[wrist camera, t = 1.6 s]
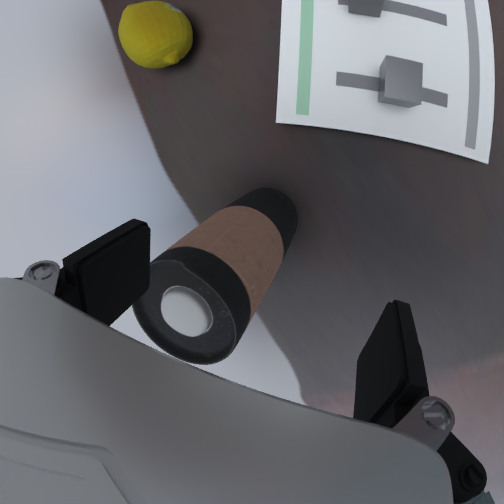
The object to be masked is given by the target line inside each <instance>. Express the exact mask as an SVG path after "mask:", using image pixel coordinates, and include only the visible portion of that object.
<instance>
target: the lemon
mask: <svg viewBox="0 0 504 504" xmlns="http://www.w3.org/2000/svg"><path fill="white" fill-rule="evenodd" d="M119 37H120V41H121V44H122V46H123V48H124V50H125V52H126V54H127V55H128V56H129V58H130V59H131V60H133V61H134V62H135V63H136V64H138V65H140V66H143V67H146V68H155V69H156V68H164V67H167V66H170V65H172V64H176V63H178V62H179V60H181V59H182V58H184V57H185V56H186V54H187V53H188V52H189V50H190V49H191V47H192V43H193V31H192V27H191V23H190V22H189V20H188V18H187V17H186V16H185V15H184V13H183V12H182V11H181V10H179V9H178V8H176V7H175V6H173V5H172V4H169V3H166V2H162V1H146V2H141V3H136V4H131V5H128V6H127V7H126V9H125V10H124V11H123V13H122V18H121V21H120V24H119Z"/></svg>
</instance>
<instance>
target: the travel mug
mask: <svg viewBox="0 0 504 504" xmlns="http://www.w3.org/2000/svg"><path fill="white" fill-rule="evenodd" d="M296 226H297V215H296V211H295V208H294V206H293V204H292V203H291V201H290V200H289V199H288V198H287V197H286V196H285V195H283V194H282V193H280V192H278V191H276V190H273V189H257V190H254V191H252V192H250V193H248V194H246V195H245V196H243V197H241V198H239V199H238V200H236V201H234V202H233V203H231V204H229V205H228V206H226V207H224V208H223V209H221V210H220V211H218V212H217V213H215V214H214V215H212V216H211V217H210V218H208V219H207V220H206V221H204V222H203V223H202V224H200V225H199V226H198V227H197V228H195V229H194V230H192V231H191V232H190V233H188V234H187V235H186V236H184V237H183V238H182V239H180V240H179V241H178V242H176V243H175V244H174V245H172V246H171V247H170V248H169V249H167V250H166V251H165V252H163V253H162V254H161V255H159V256H158V257H157V258H156V259H154V260H153V261H152V262H150V285H149V288H148V290H147V291H146V292H145V293H144V294H143V295H142V296H141V297H140V298H139V299H138V300H137V301H136V302H135V303H133V304H132V308H133V311H134V314H135V316H136V318H137V320H138V322H139V324H140V326H141V327H142V329H143V330H144V332H145V333H146V334H147V335H148V337H149V338H150V339H151V340H152V341H153V342H154V343H155V344H156V345H157V346H159V347H160V348H161V349H163V350H164V351H166V352H167V353H168V354H170V355H172V356H174V357H176V358H178V359H180V360H182V361H185V362H189V363H193V364H199V365H208V364H214V363H217V362H220V361H222V360H223V359H225V358H227V357H228V356H229V355H230V354H231V353H232V352H233V350H234V349H235V347H236V346H237V344H238V342H239V340H240V339H241V337H242V335H243V333H244V331H245V330H246V328H247V326H248V324H249V322H250V321H251V318H252V317H253V315H254V313H255V312H256V310H257V308H258V306H259V304H260V303H261V301H262V299H263V297H264V295H265V293H266V292H267V290H268V288H269V286H270V284H271V282H272V280H273V279H274V277H275V275H276V273H277V271H278V269H279V267H280V265H281V263H282V261H283V258H284V256H285V254H286V251H287V249H288V247H289V244H290V242H291V240H292V237H293V235H294V232H295V230H296Z"/></svg>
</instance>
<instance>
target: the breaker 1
mask: <svg viewBox="0 0 504 504" xmlns="http://www.w3.org/2000/svg"><path fill="white" fill-rule="evenodd" d="M383 3H384V0H348V12H349V13H356V14H364V15H370V16H377V17H380V15H381V11H382V7H383Z"/></svg>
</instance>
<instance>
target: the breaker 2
mask: <svg viewBox="0 0 504 504" xmlns="http://www.w3.org/2000/svg"><path fill="white" fill-rule="evenodd" d="M422 80H423V63H420V62H416V61H412V60H408V59H403V58H399V57H394V56H389V55H386V56H385V58H384V60H383V62H382V63H381V65H380V72H379V92H378V102H382V103H387V104H392V105H397V106H402V107H406V108H411V107H414V106H418V105H421V100H422Z"/></svg>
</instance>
